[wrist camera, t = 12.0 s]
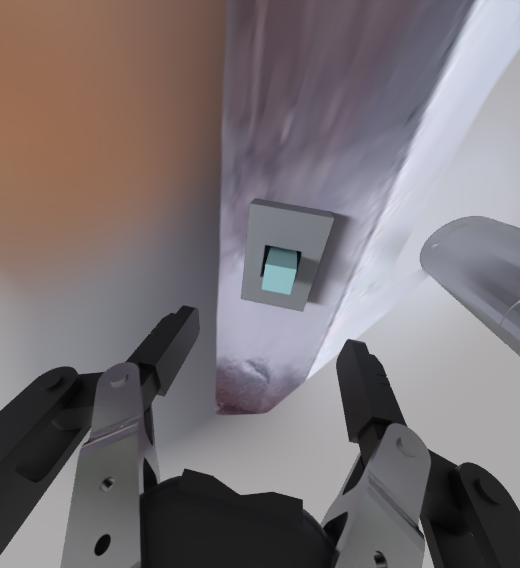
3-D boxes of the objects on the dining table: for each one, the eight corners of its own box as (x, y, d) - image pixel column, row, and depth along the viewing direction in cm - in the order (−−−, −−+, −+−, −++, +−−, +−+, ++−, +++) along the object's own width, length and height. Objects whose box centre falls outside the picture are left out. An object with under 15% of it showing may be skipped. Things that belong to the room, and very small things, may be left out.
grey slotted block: (255, 198, 29) (250, 203, 26) (330, 211, 28) (334, 218, 25) (245, 287, 38) (240, 298, 35) (302, 299, 37) (302, 311, 34)
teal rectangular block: (296, 245, 32) (296, 269, 25) (291, 267, 34) (290, 294, 27) (272, 241, 32) (265, 263, 25) (268, 263, 34) (261, 289, 27)
